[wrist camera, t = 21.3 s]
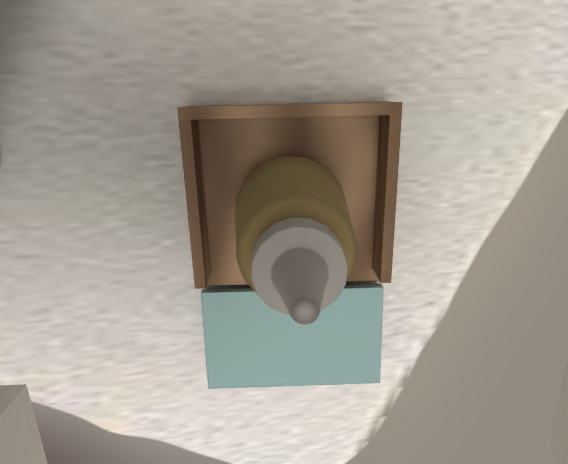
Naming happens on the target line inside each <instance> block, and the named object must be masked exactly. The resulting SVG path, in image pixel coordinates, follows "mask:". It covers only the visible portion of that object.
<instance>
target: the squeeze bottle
mask: <svg viewBox="0 0 568 464" xmlns="http://www.w3.org/2000/svg"><path fill="white" fill-rule="evenodd" d="M235 234H236V260H237V263H238V266H239V268H240V271H241V273H242V276H243V278H244V281H245V282H246V283H247V284H248V285H249V286H250V287H251V288H252V289H253V290H254V291H255V292H256V293H257V295H258V296H259V297H260V298H261V299H262V300H263V301H264V302H265V303H266V304H267V305H268V306H269V307H270V308H273V309H275V310H277V311H279V312H282V313H284V314H287V315H291V317H292V319H293V320H294V321H295V322H297V323H299V324H310V323H313V322H314V321H315V320H317V318H318V316H319V314H320V311H321V310H323V309H325V308H326V307H327V306H328V305H330V304H331V303H332V302H334V301H335V300H336V299H337V298H338V296H339V295H340V293H341V291H342V290H343V288H344V286H345V285H346V281H347V279H348V277H349V276H350V274H351V272H352V271H353V269H354V267H355V260H356V253H357V242H356V238H355V234H354V230H353V226H352V222H351V218H350V214H349V210H348V207H347V203H346V199H345V196H344V192H343V189H342V185H341V184H340V183H339V181H338V180H337V179H336V178H335V177H334V175H333V174H332V173H331V172H330V171H329V169H328V168H327V167H325V166H323V165H321V164H319V163H317V162H315V161H313V160H311V159H309V158H306V157H293V156H282V157H279V158H276V159H273V160H270V161H267V162H264V163H262V164H261V165H260V166H259V167H258V168H256V169H255V170H254V171H253V172H252V173H251V174H249V175H248V176H247V177H246V178H245V180H244V182H243V184H242V186H241V188H240V190H239V192H238V195H237V197H236V209H235Z"/></svg>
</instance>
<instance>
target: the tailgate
mask: <svg viewBox="0 0 568 464" xmlns="http://www.w3.org/2000/svg"><path fill="white" fill-rule="evenodd" d="M201 298H202V311H203V324H204V338H205V351H206V365H207V378H208V389H218V388H247V387H277V386H306V385H335V384H365V383H380V369H381V339H382V310H383V286H382V285H381V284H368V285H345V286H344V288H343V290H342V291H341V293H340V295H339V296H338V298H337V299H336V300H335V301H334V302H332V303H331V304H330V305H328V306H327V307H326V308H325V309H323V310H321V311H320V314H319V316H318V318H317V320H315V321H314V322H313V323H310V324H299V323H297V322H295V321H294V320H293V319H292V317H291V315H287V314H284V313H282V312H279V311H277V310H275V309H273V308H270V307H269V306H268V305H267V304H266V303H265V302H264V301H263V300H262V299H261V298H260V297H259V296H258V295H257V293H256V292H255V291H254V290H253V289H252V288H236V289H203V290H202V292H201Z"/></svg>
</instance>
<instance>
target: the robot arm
mask: <svg viewBox="0 0 568 464" xmlns="http://www.w3.org/2000/svg"><path fill="white" fill-rule="evenodd" d="M547 451H548V452H549V453H550V455H551V456H552V457H553V459H554V460H555V461H556V463H557V464H568V362H566V365H565V369H564V374H563V379H562V383H561V388H560V392H559V396H558V401H557V406H556V409H555V414H554V418H553V423H552V427H551V432H550V436H549V441H548V445H547ZM0 464H47V460H46V457H45V453H44V449H43V446H42V442H41V438H40V434H39V431H38V427H37V423H36V419H35V416H34V412H33V408H32V404H31V401H30V397H29V393H28V389H27V386H26V385H2V386H0Z"/></svg>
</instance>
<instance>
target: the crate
mask: <svg viewBox="0 0 568 464" xmlns="http://www.w3.org/2000/svg"><path fill="white" fill-rule="evenodd" d="M178 117H179V128H180V138H181V148H182V158H183V169H184V179H185V189H186V199H187V210H188V220H189V230H190V240H191V251H192V261H193V271H194V281H195V288H206V286H211V285H244V284H247V283H246V282H245V281H244V278H243V276H242V273H241V271H240V268H239V266H238V263H237V260H236V234H235V209H236V197H237V195H238V192H239V190H240V188H241V186H242V184H243V182H244V180H245V178H246V177H247V176H248V175H249V174H251V173H252V172H253V171H254V170H255V169H256V168H258V167H259V166H260V165H261V164H262V163H264V162H267V161H270V160H273V159H276V158H279V157H282V156H293V157H306V158H309V159H311V160H313V161H315V162H317V163H319V164H321V165H323V166H325V167H327V168H328V169H329V171H330V172H331V173H332V174H333V175H334V177H335V178H336V179H337V180H338V181H339V183H340V184H341V185H342V189H343V192H344V196H345V199H346V203H347V207H348V210H349V214H350V218H351V222H352V226H353V230H354V234H355V238H356V242H357V253H356V260H355V267H354V269H353V271H352V272H351V274H350V276H349V277H348V279H347V281H377V280H379V281H380V283H391V273H392V257H393V242H394V226H395V211H396V195H397V179H398V164H399V148H400V133H401V117H402V102H350V103H307V104H263V105H220V106H187V107H179V108H178Z"/></svg>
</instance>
